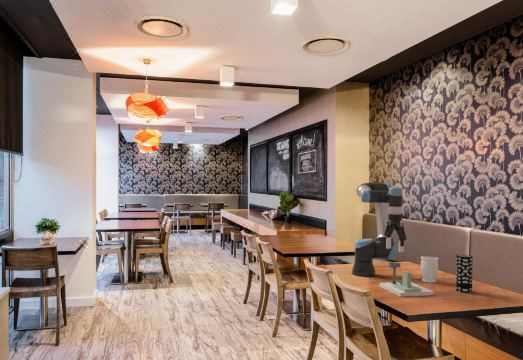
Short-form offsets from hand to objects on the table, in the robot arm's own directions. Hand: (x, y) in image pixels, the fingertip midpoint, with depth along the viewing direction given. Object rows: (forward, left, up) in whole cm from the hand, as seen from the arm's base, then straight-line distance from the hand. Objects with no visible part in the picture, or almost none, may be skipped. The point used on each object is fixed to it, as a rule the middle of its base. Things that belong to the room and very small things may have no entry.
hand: (394, 250), depth 241 cm
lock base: (+8, +2, -22) cm, 23 cm away
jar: (-10, +30, -22) cm, 38 cm away
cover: (+13, 0, -20) cm, 23 cm away
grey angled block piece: (+4, 0, -19) cm, 19 cm away
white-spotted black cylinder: (+15, +35, -22) cm, 44 cm away
